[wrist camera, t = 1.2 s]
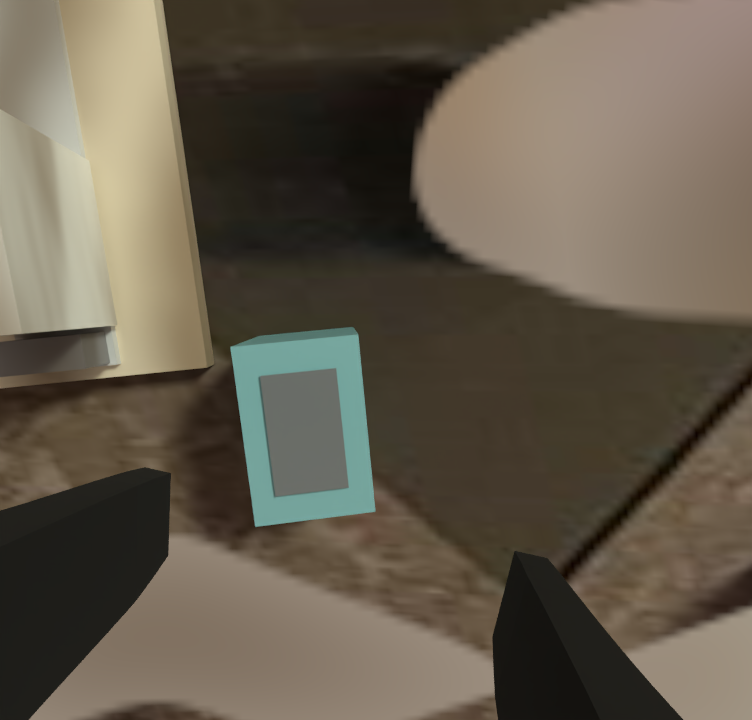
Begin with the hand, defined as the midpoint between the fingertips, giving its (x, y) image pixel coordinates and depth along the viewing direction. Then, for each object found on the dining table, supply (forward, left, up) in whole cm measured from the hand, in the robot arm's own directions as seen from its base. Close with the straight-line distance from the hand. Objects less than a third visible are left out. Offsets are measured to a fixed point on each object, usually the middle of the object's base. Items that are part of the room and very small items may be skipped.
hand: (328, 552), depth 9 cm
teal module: (-1, +1, -10) cm, 11 cm away
